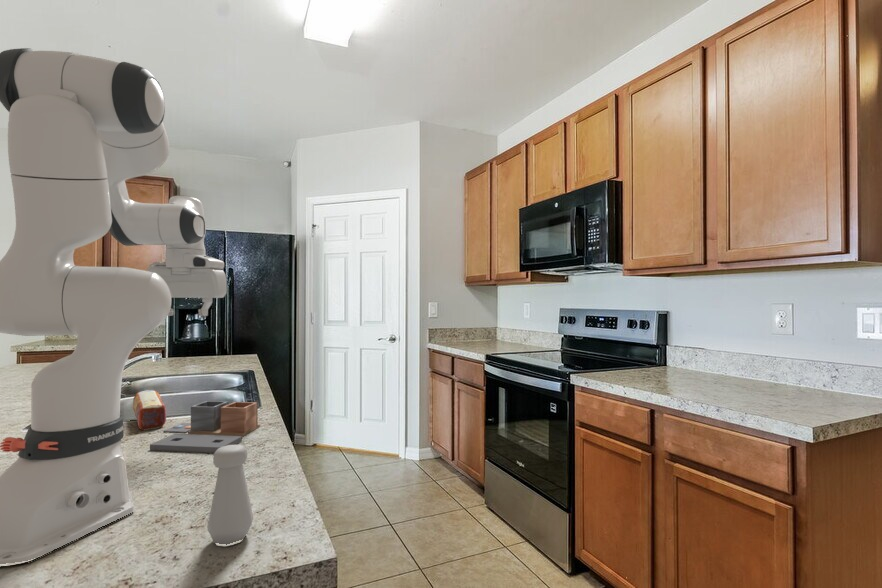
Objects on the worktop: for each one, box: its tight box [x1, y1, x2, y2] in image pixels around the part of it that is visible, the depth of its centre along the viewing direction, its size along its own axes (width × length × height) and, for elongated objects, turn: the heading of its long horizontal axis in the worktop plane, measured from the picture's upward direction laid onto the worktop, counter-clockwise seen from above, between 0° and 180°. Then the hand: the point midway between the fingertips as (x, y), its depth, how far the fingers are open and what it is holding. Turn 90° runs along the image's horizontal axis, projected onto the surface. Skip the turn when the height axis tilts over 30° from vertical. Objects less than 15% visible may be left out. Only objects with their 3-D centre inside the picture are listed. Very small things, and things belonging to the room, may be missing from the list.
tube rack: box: [187, 400, 261, 437], centre depth 115 cm, size 8×14×7 cm, turn 83°
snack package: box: [132, 389, 167, 431], centre depth 125 cm, size 21×7×7 cm, turn 36°
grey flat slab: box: [149, 433, 243, 454], centre depth 104 cm, size 8×17×1 cm, turn 83°
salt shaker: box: [206, 444, 254, 545], centre depth 64 cm, size 6×6×13 cm
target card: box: [163, 422, 191, 434], centre depth 117 cm, size 7×6×1 cm
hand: (185, 315), depth 115 cm, fingers open, 8 cm apart
